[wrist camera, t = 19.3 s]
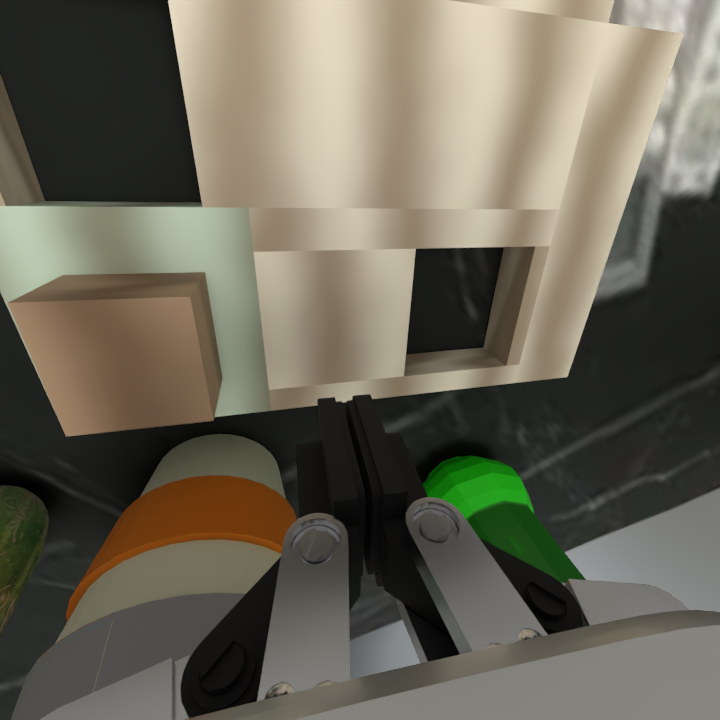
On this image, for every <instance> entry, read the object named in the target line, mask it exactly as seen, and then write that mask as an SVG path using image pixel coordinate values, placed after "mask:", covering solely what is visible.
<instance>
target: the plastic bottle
mask: <svg viewBox="0 0 720 720" xmlns="http://www.w3.org/2000/svg"><path fill="white" fill-rule="evenodd" d="M423 486H424V488H425V491H426V493H427V495H428V497H433V498H440V499H442V500H445V501H448V502H449V503H451V504H452V505H454V506H455V507H456V508H457V509H458V510H459V511H460V512H461V513H462V514H463V516H464V517H465V519H466V520H467V522H468V523H469V524H470V526H471V527H472V529H473V530H474V531H475V533H476V534H477V536H478V537H479V538H481V539H483V540H484V541H486V542H488V543H490V544H492V545H494V546H496V547H498V548H500V549H502V550H503V551H505V552H507V553H509V554H511V555H513V556H515V557H517V558H519V559H520V560H522V561H524V562H526V563H528V564H530V565H532V566H534V567H536V568H537V569H539V570H541V571H543V572H545V573H547V574H549V575H551V576H552V577H554V578H555V579H557V580H558V581H560V582H561V583H566V582H567V580H568V579H578V580H586V579H585V578H584V577H583V576H582V574H581V573H580V572H579V571H578V569H577V568H576V567H575V566H574V564H573V563H572V562H571V560H570V559H569V558H568V557H567V555H566V554H565V553H564V551H563V550H562V549H561V548H560V546H559V545H558V544H557V543H556V541H555V540H554V539H553V538H552V536H551V535H550V534H549V532H548V531H547V530H546V529H545V527H544V526H543V525H542V524H541V522H540V521H539V520H538V519H537V517H536V516H535V515H534V510H533V507H532V504H531V501H530V498H529V496H528V493H527V491H526V489H525V487H524V485H523V482H522V480H521V478H520V477H519V476H518V474H517V473H516V472H515V471H514V470H513V469H512V467H510V466H508V465H506V464H504V463H502V462H500V461H495V460H491V459H486V458H482V457H477V456H470V455H469V456H464V457H460V456H457V457H454V458H451V459H449V460H446V461H443V462H441V463H440V464H439V465H438V466H437V467H436V468H435V469H434V470H433V471H432V472H430V473H429V476H428V478H427V479H426V481H425V482H424V483H423Z"/></svg>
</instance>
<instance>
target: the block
mask: <svg viewBox="0 0 720 720" xmlns="http://www.w3.org/2000/svg"><path fill="white" fill-rule="evenodd" d="M8 305H9V307H10V310H11V312H12V314H13V317H14V319H15V321H16V323H17V326H18V328H19V330H20V333H21V335H22V337H23V339H24V342H25V344H26V346H27V349H28V351H29V353H30V355H31V358H32V360H33V362H34V364H35V367H36V369H37V371H38V374H39V376H40V378H41V380H42V383H43V385H44V387H45V390H46V392H47V394H48V396H49V399H50V401H51V403H52V406H53V408H54V410H55V412H56V415H57V417H58V419H59V422H60V424H61V426H62V428H63V431H64V433H65V435H66V436H75V435H85V434H94V433H103V432H113V431H122V430H131V429H141V428H150V427H160V426H169V425H178V424H188V423H197V422H206V421H214V417H215V412H216V408H217V403H218V398H219V393H220V388H221V384H222V379H223V378H222V372H221V366H220V360H219V354H218V347H217V341H216V335H215V329H214V323H213V317H212V311H211V305H210V299H209V293H208V287H207V281H206V275H205V272H186V273H136V274H85V275H62V276H60V277H58V278H56V279H54V280H52V281H50V282H48V283H46V284H44V285H42V286H40V287H38V288H36V289H34V290H32V291H30V292H28V293H26V294H24V295H22V296H20V297H18V298H16V299H14V300H12V301H10V302H8Z"/></svg>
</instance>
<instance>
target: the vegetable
mask: <svg viewBox="0 0 720 720" xmlns="http://www.w3.org/2000/svg"><path fill="white" fill-rule="evenodd" d="M47 531H48V512H47V509H46V507H45V505H44V503H43V502H42V501H41V499H39V498H38V497H37V496H36V495H35V494H33V493H31V492H30V491H28V490H26V489H24V488H21V487H17V486H7V485H3V486H0V638H1V636H2V634H3V632H4V630H5V628H6V626H7V624H8V622H9V619H10V617H11V615H12V613H13V611H14V609H15V607H16V605H17V603H18V601H19V599H20V596H21V594H22V593H23V591H24V589H25V587H26V585H27V582H28V580H29V578H30V576H31V575H32V573H33V571H34V569H35V567H36V564H37V562H38V560H39V557H40V555H41V552H42V549H43V546H44V543H45V539H46V535H47Z"/></svg>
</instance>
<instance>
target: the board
mask: <svg viewBox="0 0 720 720" xmlns="http://www.w3.org/2000/svg"><path fill="white" fill-rule="evenodd" d="M168 3H169V9H170V15H171V21H172V27H173V33H174V39H175V45H176V51H177V57H178V63H179V69H180V75H181V81H182V87H183V93H184V99H185V105H186V111H187V117H188V123H189V129H190V135H191V141H192V147H193V153H194V159H195V165H196V171H197V177H198V183H199V189H200V195H201V201H202V203H197V202H87V201H45V199H44V196H43V193H42V191H41V188H40V185H39V182H38V179H37V176H36V174H35V171H34V168H33V165H32V162H31V159H30V157H29V154H28V151H27V148H26V145H25V142H24V140H23V137H22V134H21V131H20V128H19V125H18V123H17V120H16V117H15V114H14V111H13V108H12V106H11V103H10V100H9V97H8V94H7V91H6V89H5V86H4V83H3V80H2V77H1V74H0V292H1V294H2V297H3V299H4V301H5V303H6V305H7V308H8V310H9V312H10V314H11V316H12V319H13V321H14V323H15V325H16V327H17V330H18V332H19V334H20V336H21V338H22V341H23V343H24V345H25V347H26V349H27V346H26V344H25V342H24V339H23V337H22V335H21V333H20V330H19V328H18V326H17V323H16V321H15V319H14V317H13V314H12V312H11V310H10V307H9V305H8V302H10V301H12V300H14V299H16V298H18V297H20V296H22V295H24V294H26V293H28V292H30V291H32V290H34V289H36V288H38V287H40V286H42V285H44V284H46V283H48V282H50V281H52V280H54V279H56V278H58V277H60V276H62V275H85V274H136V273H186V272H205V275H206V281H207V287H208V293H209V299H210V305H211V311H212V317H213V323H214V329H215V335H216V341H217V347H218V354H219V360H220V366H221V372H222V378H223V379H222V384H221V388H220V393H219V398H218V403H217V408H216V412H215V417H220V416H229V415H237V414H246V413H255V412H264V411H272V410H281V409H290V408H299V407H308V406H316V405H317V399H319V398H331V397H335V400H336V402H338V401H342V403H343V402H347V401H349V400H352V397H353V396H355V395H366V394H370V395H371V397H372V399H378V398H387V397H396V396H404V395H413V394H422V393H431V392H440V391H448V390H457V389H466V388H475V387H484V386H492V385H501V384H510V383H519V382H528V381H536V380H545V379H554V378H563V377H567V376H568V373H569V371H570V368H571V365H572V362H573V359H574V356H575V353H576V350H577V347H578V344H579V341H580V338H581V335H582V332H583V329H584V326H585V323H586V320H587V317H588V314H589V312H590V309H591V306H592V303H593V300H594V297H595V294H596V291H597V288H598V285H599V282H600V279H601V276H602V273H603V270H604V267H605V264H606V261H607V258H608V256H609V253H610V250H611V247H612V244H613V241H614V238H615V235H616V232H617V229H618V226H619V223H620V220H621V217H622V214H623V211H624V208H625V205H626V202H627V200H628V197H629V194H630V191H631V188H632V185H633V182H634V179H635V176H636V173H637V170H638V167H639V164H640V161H641V158H642V155H643V152H644V149H645V146H646V143H647V141H648V138H649V135H650V132H651V129H652V126H653V123H654V120H655V117H656V114H657V111H658V108H659V105H660V102H661V99H662V96H663V93H664V90H665V87H666V85H667V82H668V79H669V76H670V73H671V70H672V67H673V64H674V61H675V58H676V55H677V52H678V49H679V46H680V43H681V40H682V37H683V34H680V33H673V32H666V31H659V30H652V29H645V28H638V27H632V26H625V25H618V24H611V23H609V19H610V15H611V11H612V8H613V4H614V0H168ZM476 247H504V249H503V254H502V259H501V264H500V269H499V274H498V279H497V283H496V288H495V293H494V298H493V303H492V308H491V313H490V318H489V323H488V328H487V332H486V337H485V342H484V347H483V348H473V349H461V350H450V351H438V352H427V353H415V354H406V349H407V338H408V328H409V317H410V306H411V295H412V285H413V274H414V263H415V253H416V249H425V248H476ZM27 352H28V354H29V356H30V358H31V355H30V353H29V351H28V349H27ZM31 360H32V358H31ZM32 363H33V365H34V367H35V364H34V362H33V360H32ZM35 369H36V367H35ZM36 371H37V369H36ZM37 374H38V371H37ZM38 376H39V374H38ZM39 378H40V376H39ZM40 380H41V378H40ZM41 382H42V380H41ZM42 384H43V383H42ZM43 387H44V385H43ZM44 389H45V387H44ZM45 391H46V390H45ZM46 393H47V392H46ZM47 395H48V394H47ZM48 398H49V396H48ZM49 400H50V399H49ZM50 402H51V401H50ZM51 404H52V403H51ZM53 409H54V408H53ZM54 411H55V410H54ZM55 413H56V412H55ZM58 420H59V419H58Z"/></svg>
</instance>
